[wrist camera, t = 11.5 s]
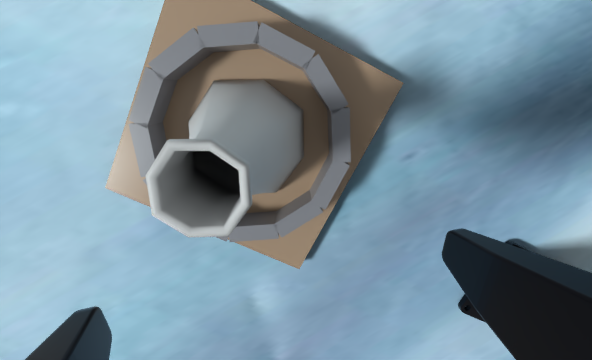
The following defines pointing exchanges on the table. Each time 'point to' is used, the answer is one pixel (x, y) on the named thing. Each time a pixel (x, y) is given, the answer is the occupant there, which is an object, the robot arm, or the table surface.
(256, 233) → the duct collar
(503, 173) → the table surface
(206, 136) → the flask
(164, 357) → the table surface
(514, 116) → the table surface
